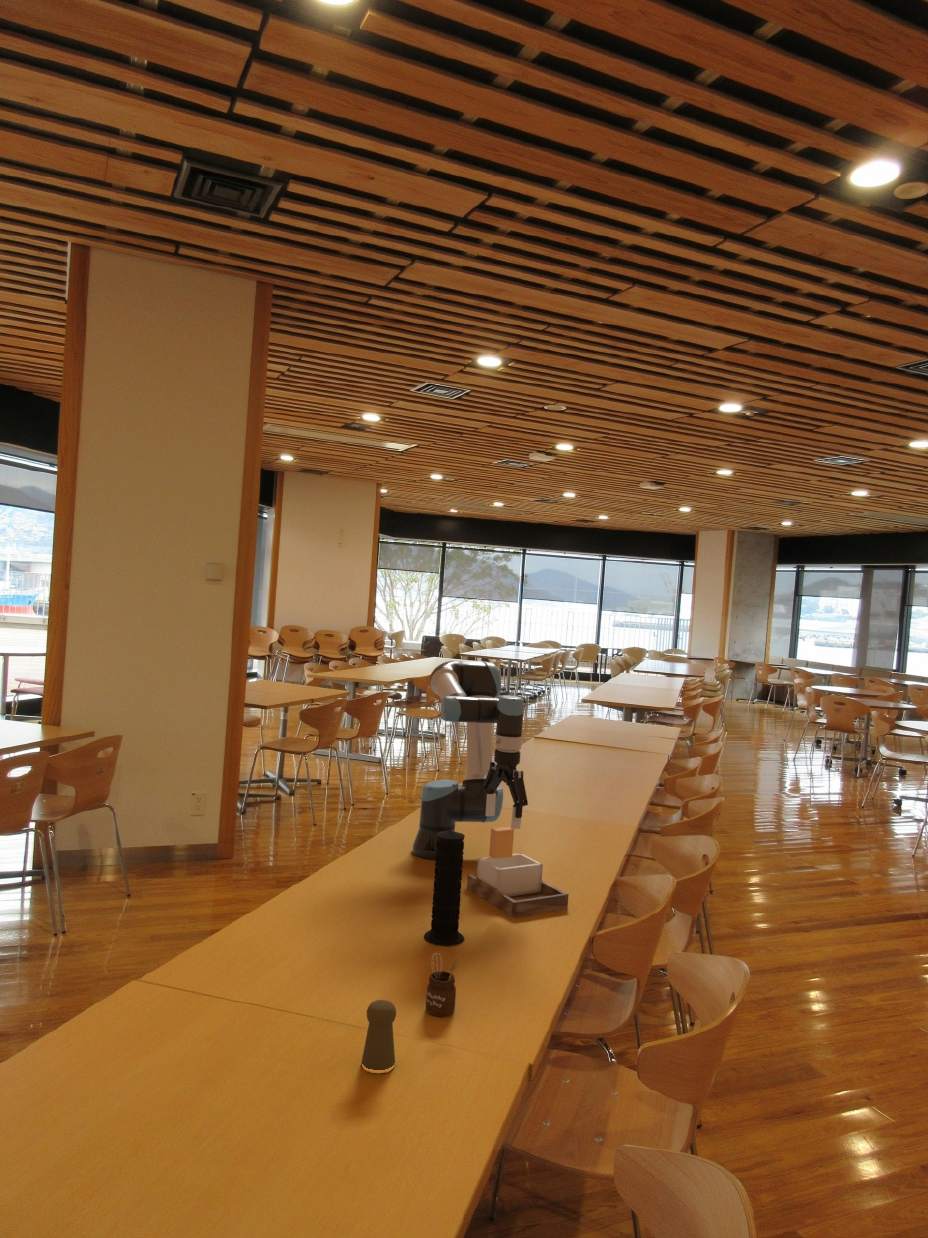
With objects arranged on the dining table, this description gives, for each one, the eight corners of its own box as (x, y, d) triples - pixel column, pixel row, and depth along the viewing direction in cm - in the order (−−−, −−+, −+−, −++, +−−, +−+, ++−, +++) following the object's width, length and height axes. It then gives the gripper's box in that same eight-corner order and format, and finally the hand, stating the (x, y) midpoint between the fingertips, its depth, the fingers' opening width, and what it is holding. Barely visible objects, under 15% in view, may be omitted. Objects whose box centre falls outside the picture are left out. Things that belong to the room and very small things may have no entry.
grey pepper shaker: (361, 1055, 155) (365, 995, 155) (395, 1056, 155) (399, 996, 155) (360, 1074, 149) (364, 1011, 149) (395, 1074, 149) (399, 1012, 149)
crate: (474, 884, 247) (477, 829, 247) (517, 879, 255) (520, 825, 255) (496, 898, 237) (500, 841, 237) (540, 892, 245) (544, 836, 244)
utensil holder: (438, 1000, 178) (442, 943, 178) (461, 1011, 174) (465, 952, 174) (419, 1010, 173) (423, 951, 173) (442, 1021, 169) (446, 961, 169)
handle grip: (419, 943, 207) (459, 949, 205) (426, 833, 206) (467, 838, 204) (429, 927, 217) (468, 933, 215) (435, 823, 216) (475, 828, 214)
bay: (466, 888, 248) (467, 874, 248) (518, 881, 257) (518, 868, 257) (513, 917, 227) (514, 902, 227) (567, 909, 237) (568, 894, 237)
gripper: (474, 741, 258) (469, 811, 259) (521, 759, 237) (516, 835, 237) (495, 740, 262) (490, 809, 263) (543, 758, 240) (538, 833, 241)
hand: (502, 822), depth 250 cm, fingers open, 13 cm apart
